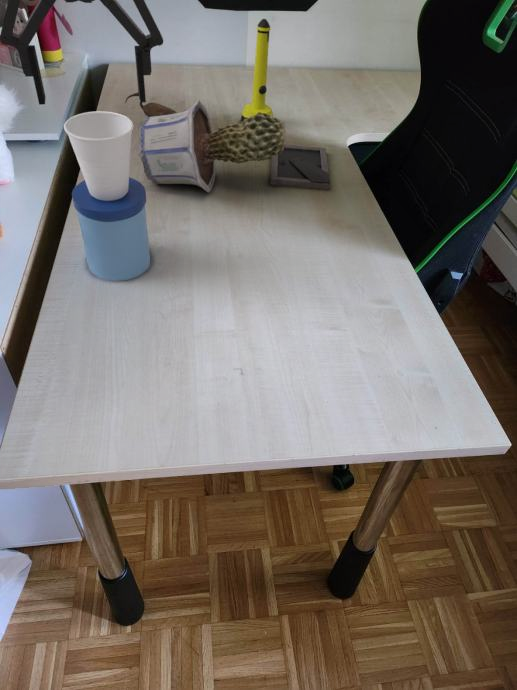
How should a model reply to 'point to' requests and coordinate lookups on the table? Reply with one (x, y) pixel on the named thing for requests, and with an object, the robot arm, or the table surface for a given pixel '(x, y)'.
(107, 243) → the blue lidded canister
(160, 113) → the figurine
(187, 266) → the table surface
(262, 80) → the flashlight
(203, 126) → the potted plant
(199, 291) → the table surface
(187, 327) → the table surface
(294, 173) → the picture frame
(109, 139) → the cup
